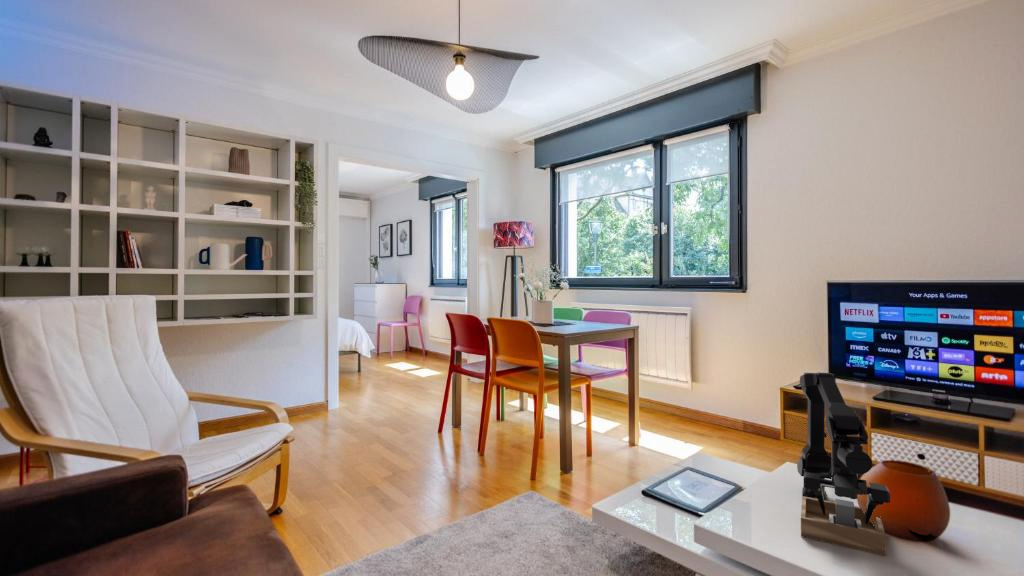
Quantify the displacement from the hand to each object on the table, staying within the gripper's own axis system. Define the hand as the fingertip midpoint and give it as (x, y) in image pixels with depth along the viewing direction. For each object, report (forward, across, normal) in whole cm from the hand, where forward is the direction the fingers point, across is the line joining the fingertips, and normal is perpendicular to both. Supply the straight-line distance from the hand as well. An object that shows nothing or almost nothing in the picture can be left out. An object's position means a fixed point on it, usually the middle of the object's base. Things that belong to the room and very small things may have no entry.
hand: (845, 518), depth 128 cm
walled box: (+5, -1, +2) cm, 5 cm away
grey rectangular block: (+4, 0, 0) cm, 4 cm away
